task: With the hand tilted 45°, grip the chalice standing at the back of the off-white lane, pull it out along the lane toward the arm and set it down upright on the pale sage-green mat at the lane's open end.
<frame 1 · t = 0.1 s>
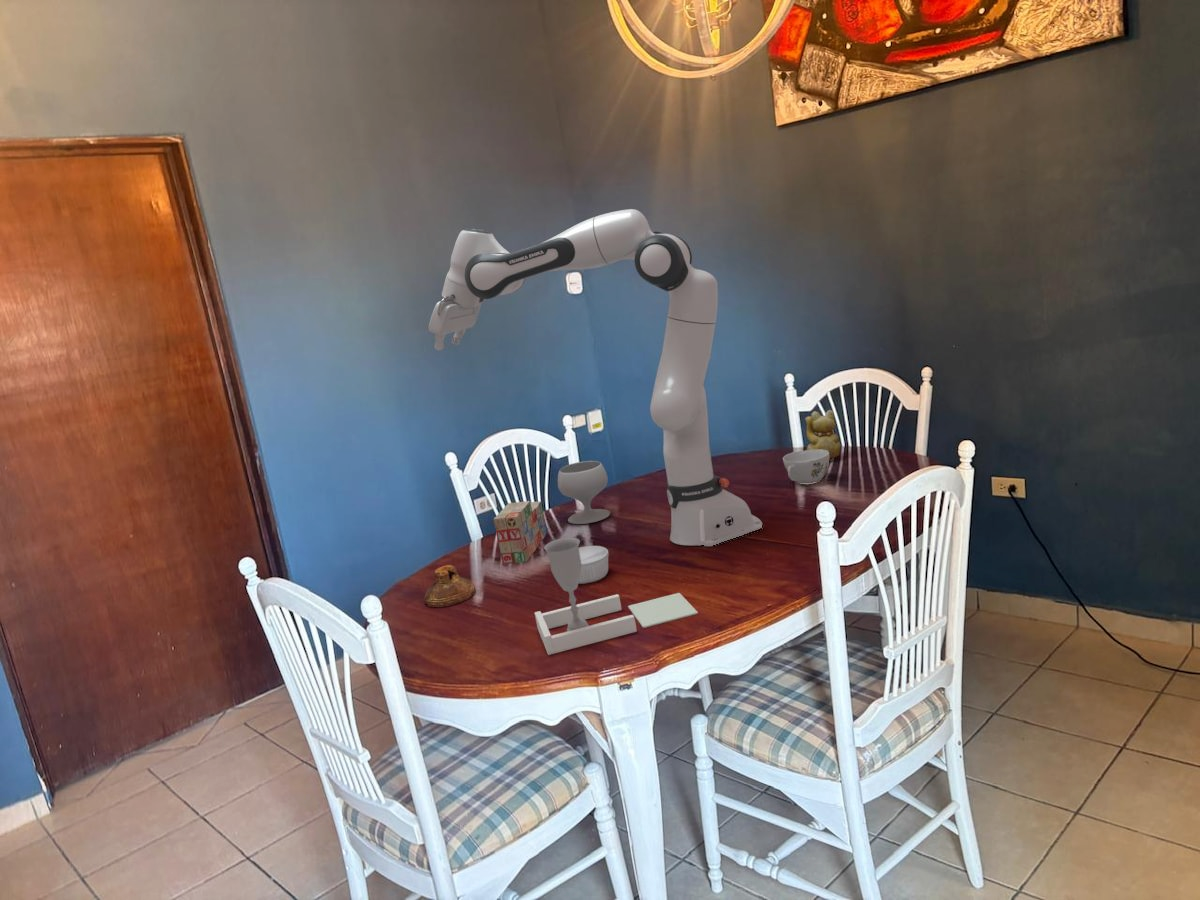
hand: (446, 346, 204), 54 cm above the table, tool tilted 30°, fingers open, 8 cm apart
teacup: (806, 484, 226), on the table
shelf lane: (588, 629, 158), on the table
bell: (450, 598, 188), on the table
decorative figurine: (825, 461, 245), on the table
ramekin: (587, 577, 186), on the table
chalice: (578, 633, 157), resting in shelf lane
chalice 2: (589, 518, 229), on the table
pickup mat: (662, 610, 161), on the table
stack of blocks: (526, 549, 213), on the table
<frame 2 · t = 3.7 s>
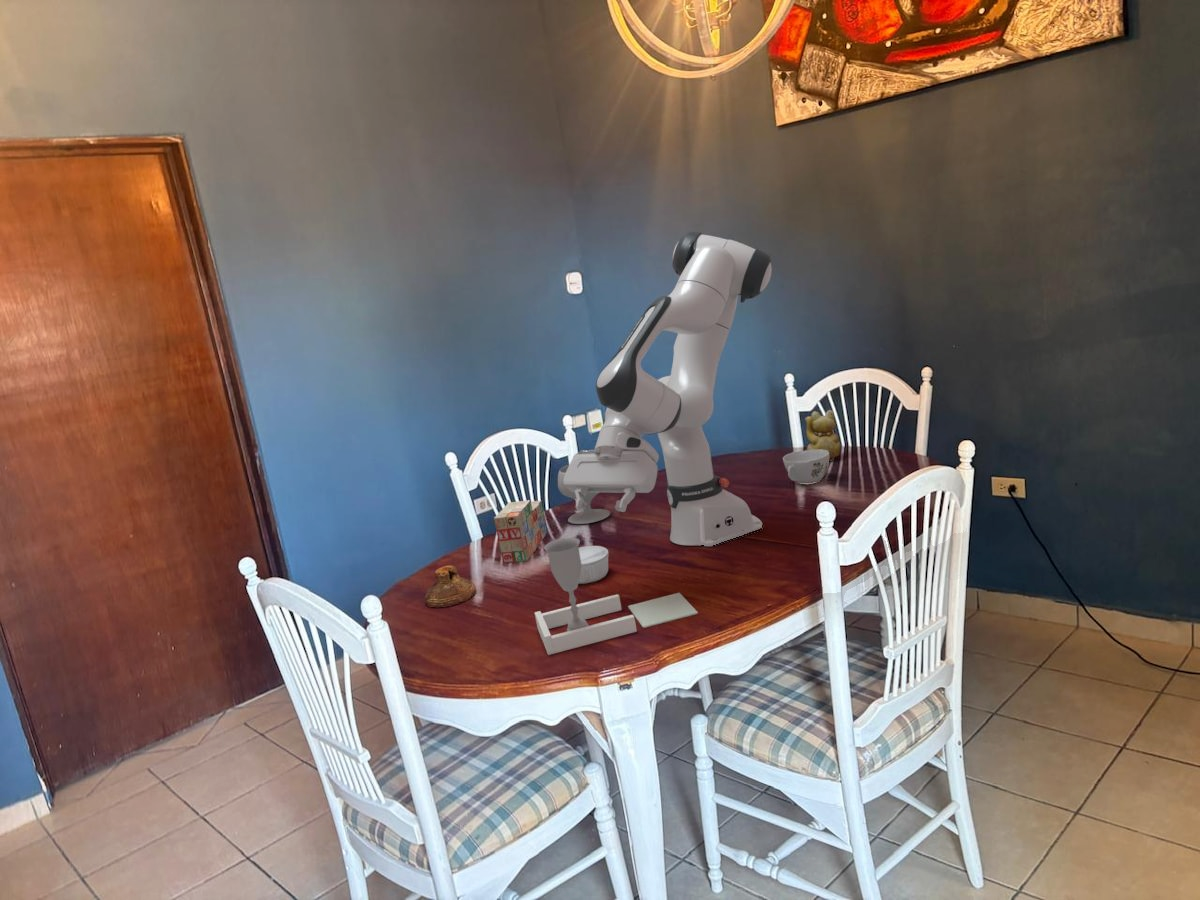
hand: (599, 510, 162), 21 cm above the table, tool tilted 45°, fingers open, 8 cm apart
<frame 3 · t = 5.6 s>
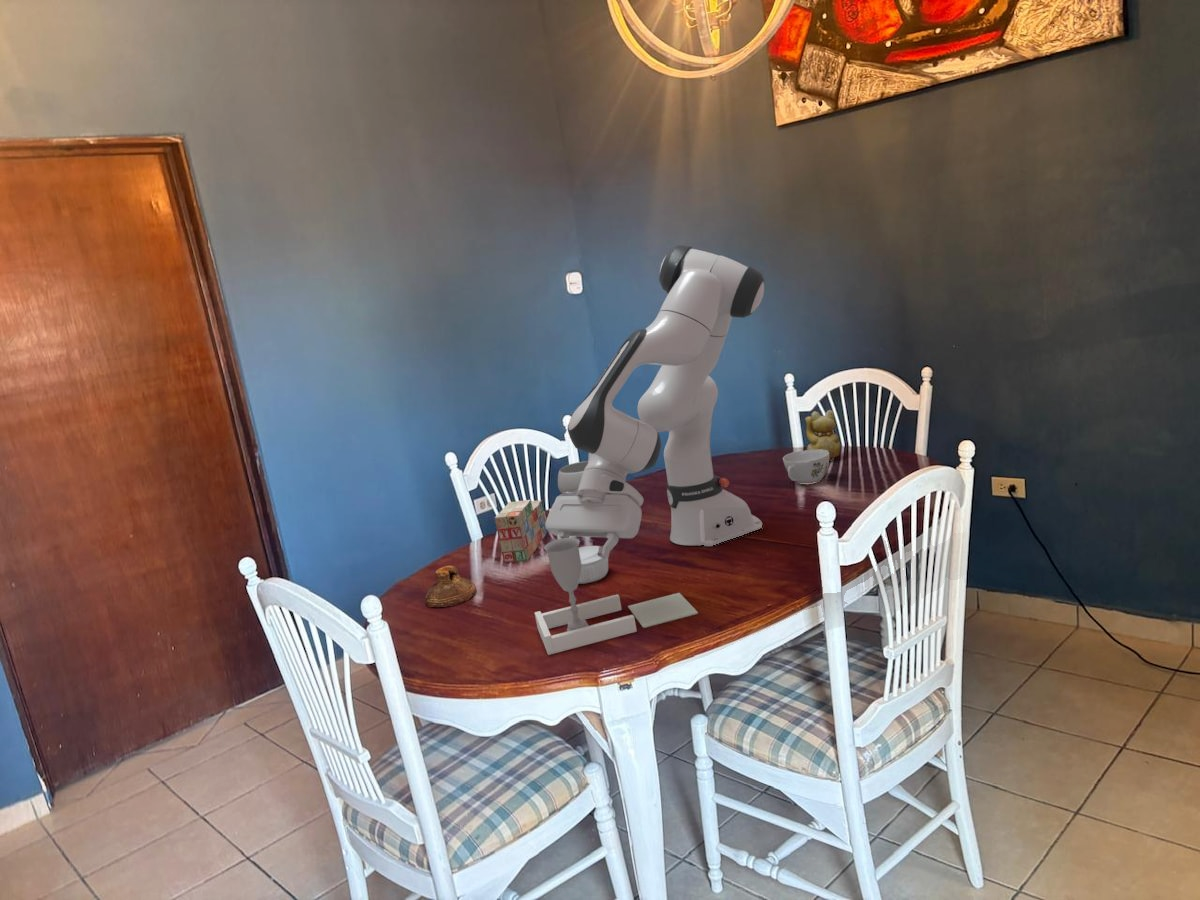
hand: (582, 556, 157), 14 cm above the table, tool tilted 45°, fingers open, 8 cm apart
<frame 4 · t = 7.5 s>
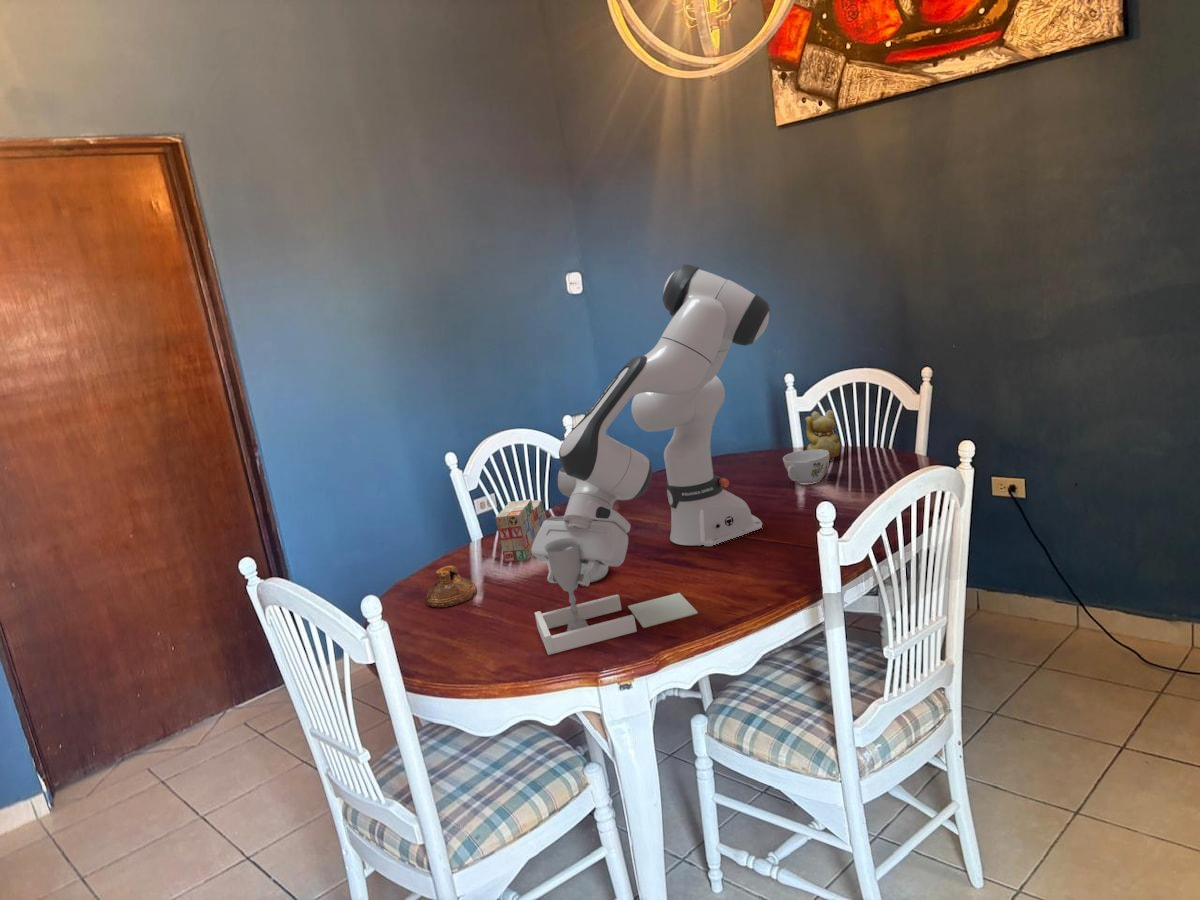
hand: (567, 583, 155), 10 cm above the table, tool tilted 45°, fingers closed on chalice, 6 cm apart
chalice: (578, 633, 157), resting in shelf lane, touching gripper
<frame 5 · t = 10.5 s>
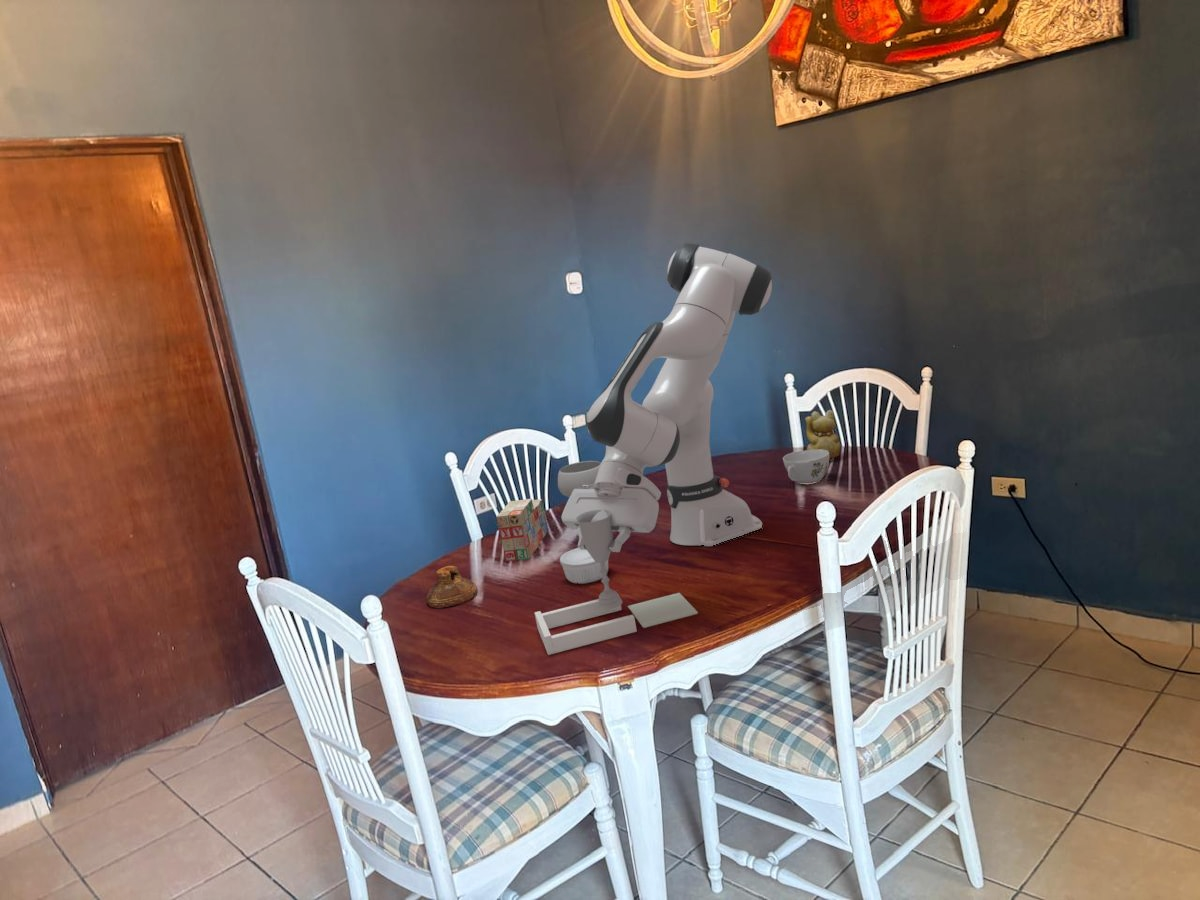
hand: (598, 549, 155), 15 cm above the table, tool tilted 45°, fingers closed on chalice, 6 cm apart
chalice: (609, 604, 158), point 4 cm above the table, touching gripper
when the fingers open (12 cm above the table, at t = 13.6 s): chalice stays where it is, resting on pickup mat.
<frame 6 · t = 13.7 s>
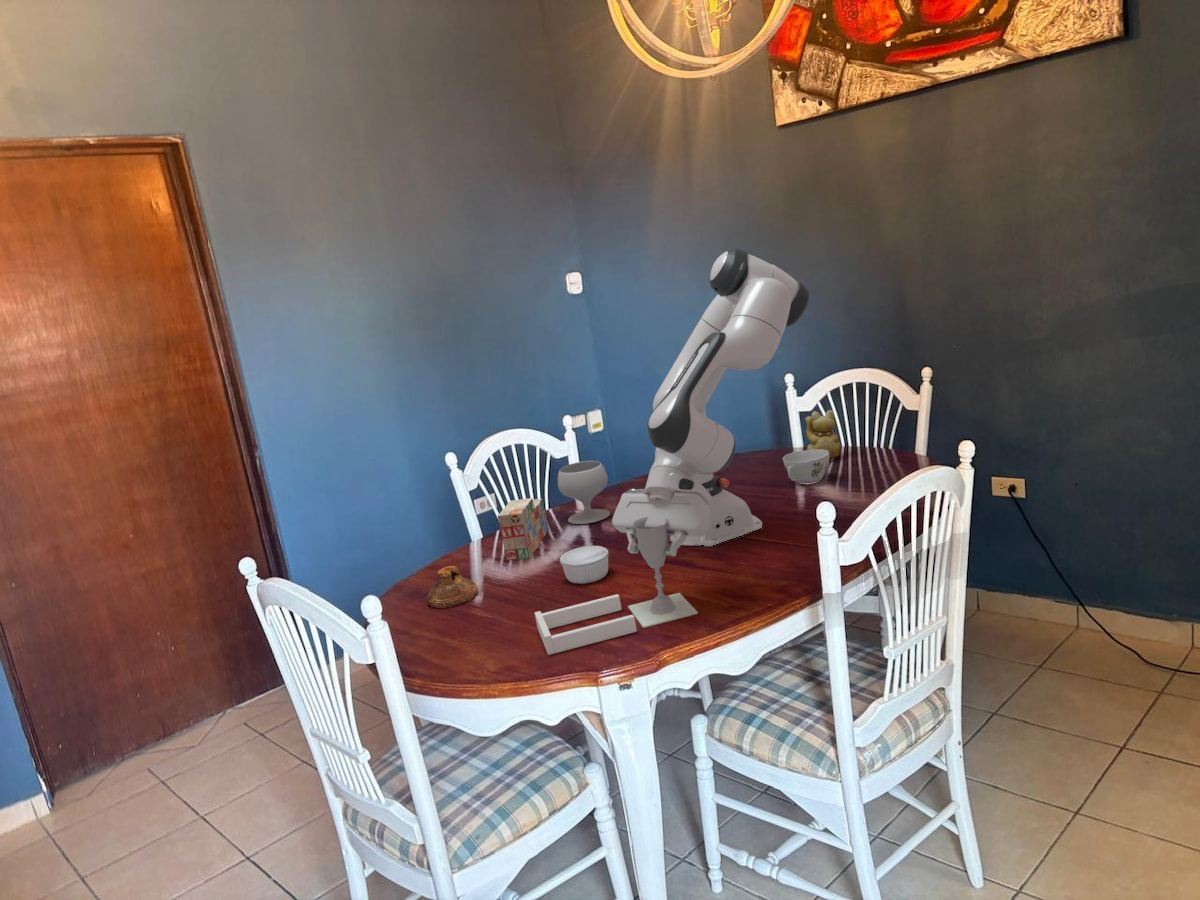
hand: (650, 553, 157), 12 cm above the table, tool tilted 45°, fingers open, 7 cm apart
chalice: (663, 609, 160), resting on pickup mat
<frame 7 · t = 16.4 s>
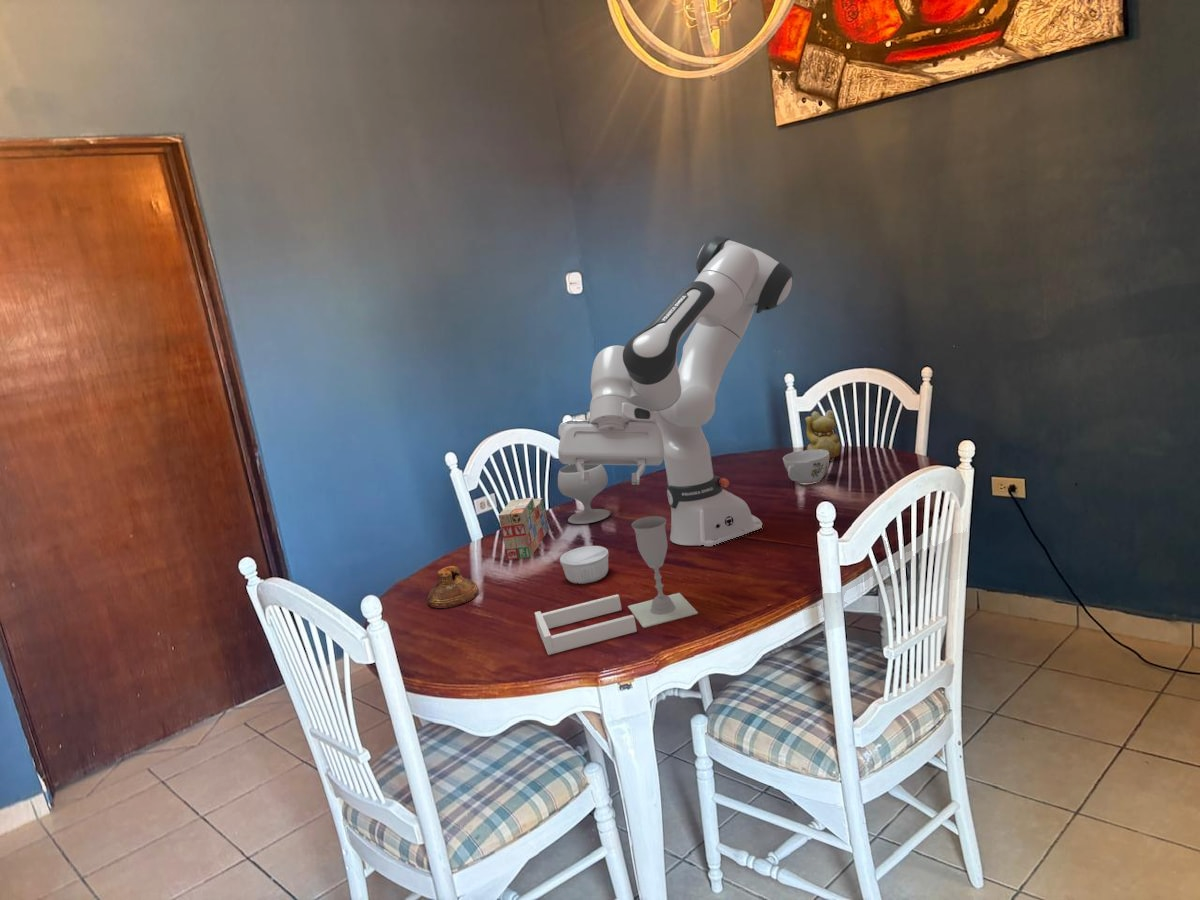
hand: (610, 483, 154), 28 cm above the table, tool tilted 45°, fingers open, 8 cm apart
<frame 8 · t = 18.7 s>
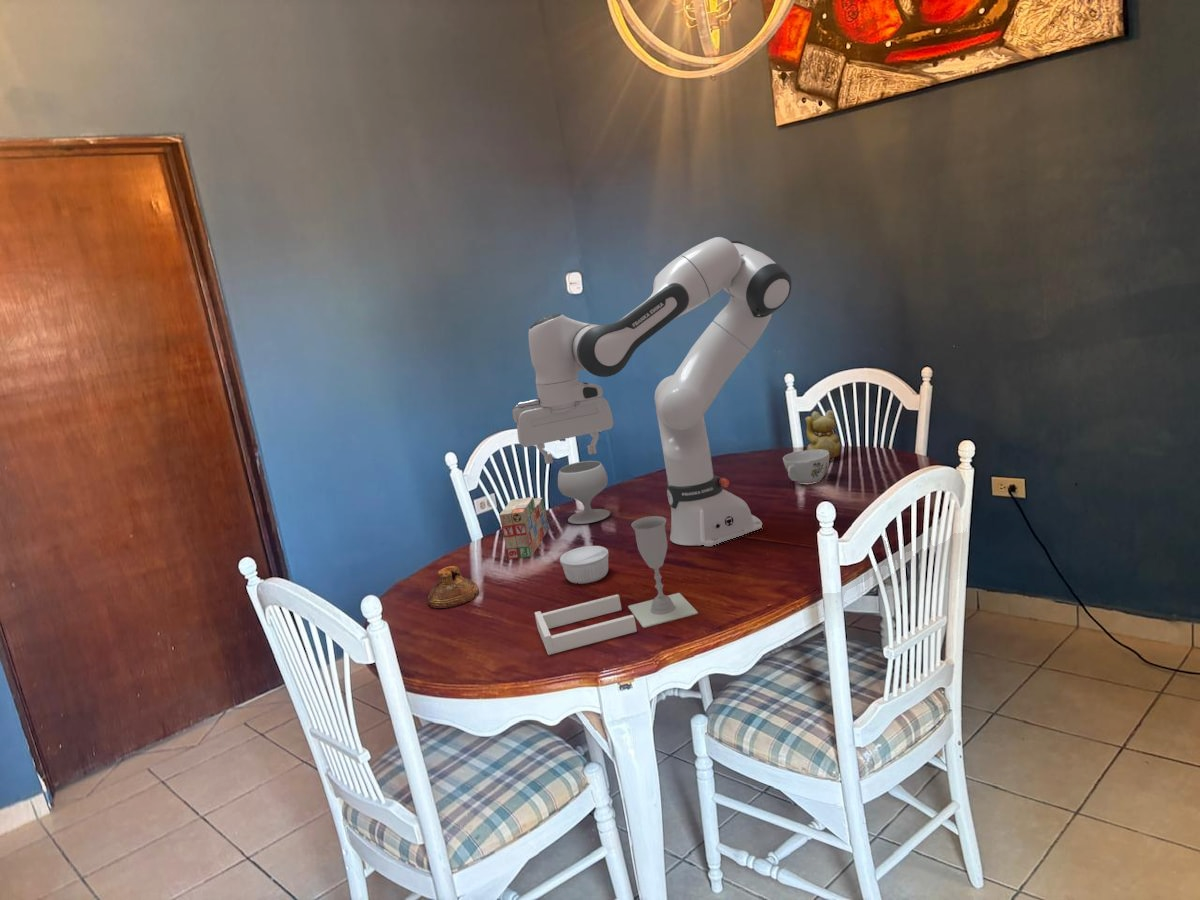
hand: (571, 458, 173), 29 cm above the table, tool pointing down, fingers open, 8 cm apart
at the end: chalice inside the target area (0.2 cm from its centre), resting on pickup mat; chalice tilted 0°; the gripper is holding nothing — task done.
